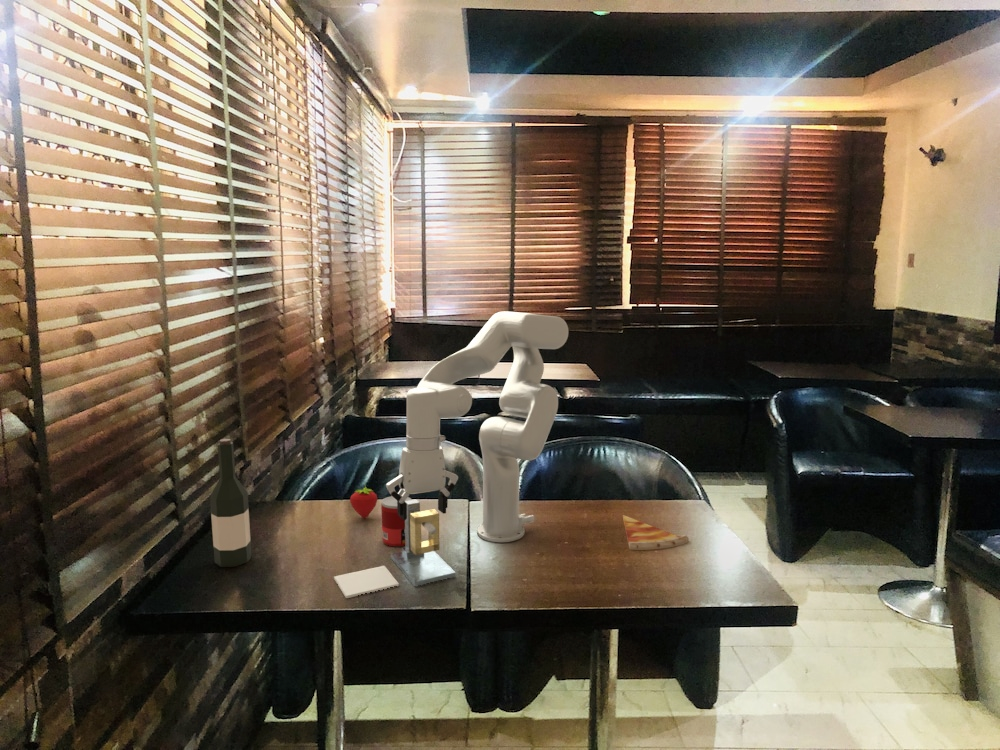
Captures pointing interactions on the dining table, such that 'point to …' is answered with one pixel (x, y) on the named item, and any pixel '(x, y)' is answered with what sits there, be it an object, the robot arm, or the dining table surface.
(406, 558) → the stand
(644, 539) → the pizza slice
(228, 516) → the wine bottle
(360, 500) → the strawberry
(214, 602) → the dining table surface
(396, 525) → the canned food
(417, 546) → the rectangular frame block
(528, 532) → the dining table surface
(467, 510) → the dining table surface
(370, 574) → the pad
